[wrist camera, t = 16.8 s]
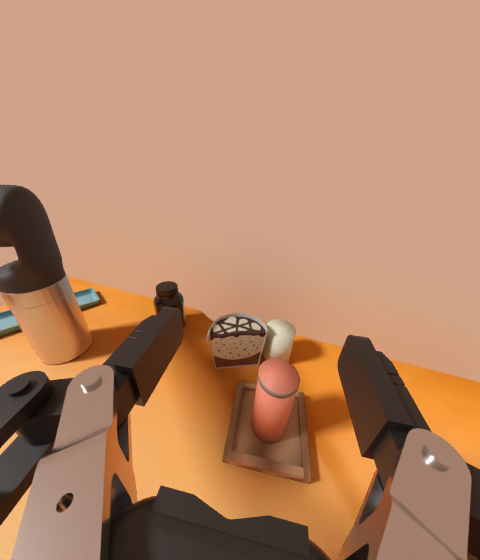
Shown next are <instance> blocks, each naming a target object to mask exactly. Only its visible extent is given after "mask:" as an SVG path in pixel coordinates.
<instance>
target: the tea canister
mask: <svg viewBox="0 0 480 560" xmlns="http://www.w3.org/2000/svg"><path fill="white" fill-rule="evenodd" d="M299 383H300V377H299V374H298V372H297V370H296V369H295V367H294V366H293V365H292V364H290V363H289V362H287V361H285V360H282V359H278V358H272V359H268V360H266V361H264V362H263V363H262V364H261V365H260V367H259V371H258V381H257V387H256V394H255V401H254V408H253V415H252V428H253V431H254V433H255V435H256V436H257V437H258V438H259V439H260V440H262V441H263V442H266V443H276V442H278V441H279V440H281V438H282V437H283V435H284V433H285V429H286V426H287V422H288V419H289V416H290V412H291V409H292V405H293V402H294V399H295V395H296V392H297V390H298V387H299Z"/></svg>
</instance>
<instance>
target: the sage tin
mask: <svg viewBox="0 0 480 560" xmlns="http://www.w3.org/2000/svg"><path fill="white" fill-rule="evenodd" d="M267 329H268V331H269V337H270V338H269V337H268V335H267V337H266V341H265V344H264V349H263V357H264V359H265V361H266V360H268V359H272V358H278V359H282V360H285V361H287V362H289V359H290V354H291V350H292V346H293V341H294V337H295V333H296V330H295V327H294V326H293V325H292V324H291V323H289V322H288V321H285V320H280V319H275V320H271V321H270V322H268V324H267Z"/></svg>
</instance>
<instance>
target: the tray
mask: <svg viewBox="0 0 480 560" xmlns="http://www.w3.org/2000/svg"><path fill="white" fill-rule="evenodd" d="M256 387H257V384H256V383H250V382H245V381H240V380H239V382H238V387H237V392H236V396H235V401H234V406H233V411H232V416H231V421H230V426H229V430H228V435H227V440H226V445H225V450H224V455H223V462H224V463H228V464H232V465H236V466H240V467H244V468H248V469H252V470H256V471H260V472H264V473H268V474H272V475H276V476H280V477H284V478H288V479H292V480H296V481H300V482H304V483H308V484H309V483H310V481H311V480H312V477H311V466H310V456H309V445H308V434H307V424H306V413H305V403H304V393H302V392H296V395H295V399H294V402H293V405H292V409H291V412H290V416H289V419H288V422H287V426H286V429H285V433H284V435H283V437H282V438H281V440H279V441H278V442H276V443H266V442H263V441H262V440H260V439H259V438H258V437H257V436H256V435H255V433H254V431H253V428H252V415H253V408H254V401H255V394H256Z"/></svg>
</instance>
